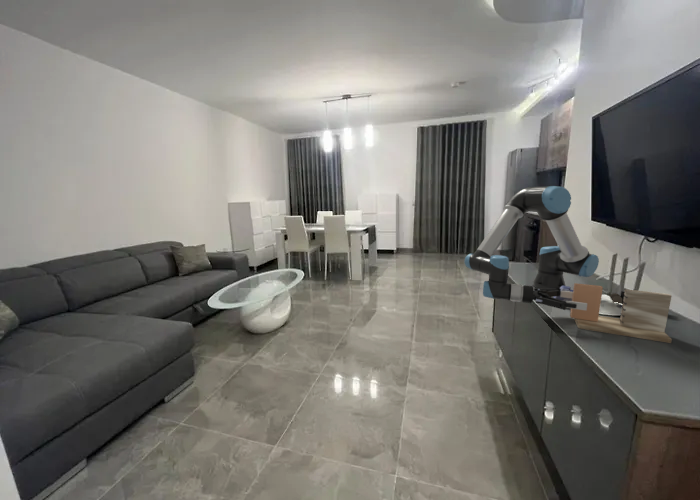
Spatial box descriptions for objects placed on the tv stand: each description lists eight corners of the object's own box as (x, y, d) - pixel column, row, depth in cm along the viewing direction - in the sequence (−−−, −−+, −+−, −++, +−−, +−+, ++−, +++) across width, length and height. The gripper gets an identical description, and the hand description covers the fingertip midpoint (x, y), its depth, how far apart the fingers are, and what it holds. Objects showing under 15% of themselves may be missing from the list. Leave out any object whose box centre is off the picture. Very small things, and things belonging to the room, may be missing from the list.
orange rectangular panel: (570, 315, 123) (574, 283, 120) (596, 319, 119) (601, 285, 116) (570, 317, 121) (575, 284, 118) (597, 321, 117) (602, 287, 114)
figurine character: (612, 310, 136) (659, 314, 127) (612, 294, 135) (659, 297, 126) (609, 306, 141) (654, 309, 132) (609, 290, 140) (655, 292, 131)
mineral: (559, 287, 136) (553, 280, 145) (553, 306, 138) (547, 298, 148) (597, 294, 131) (588, 286, 140) (591, 314, 134) (582, 304, 143)
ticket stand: (572, 315, 128) (576, 280, 125) (654, 327, 115) (661, 289, 113) (578, 328, 116) (583, 290, 113) (671, 343, 103) (679, 300, 100)
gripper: (520, 293, 140) (575, 300, 130) (522, 311, 119) (588, 321, 109) (521, 278, 139) (577, 283, 129) (524, 293, 117) (591, 302, 107)
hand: (583, 301), depth 119 cm, fingers open, 13 cm apart
